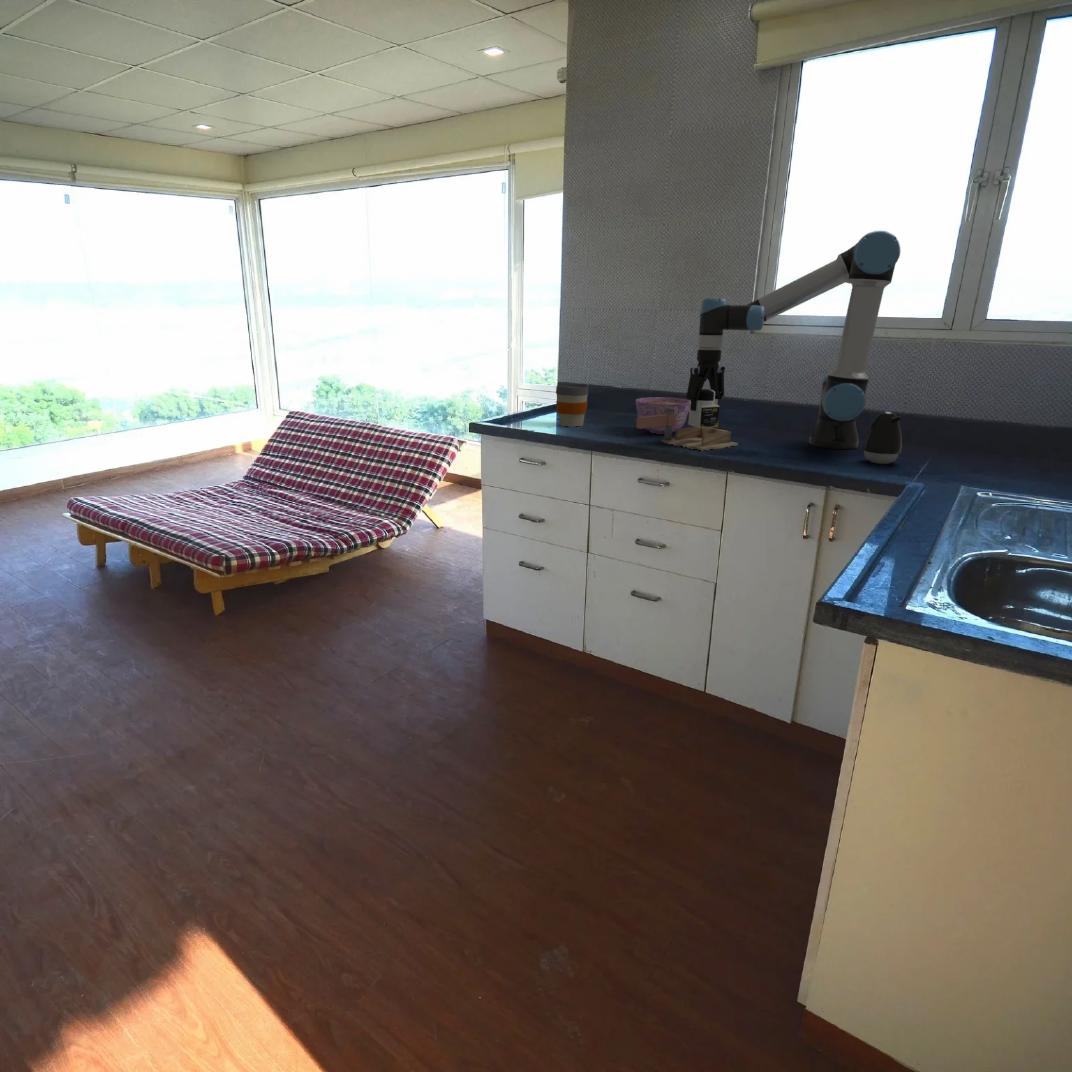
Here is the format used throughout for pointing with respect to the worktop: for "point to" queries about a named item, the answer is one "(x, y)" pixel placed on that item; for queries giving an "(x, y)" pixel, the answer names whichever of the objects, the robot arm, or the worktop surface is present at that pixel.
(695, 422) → the medicine bottle
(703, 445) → the cradle
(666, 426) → the hammer
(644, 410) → the bowl of food
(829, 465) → the worktop surface
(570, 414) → the reusable coffee cup
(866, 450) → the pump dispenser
